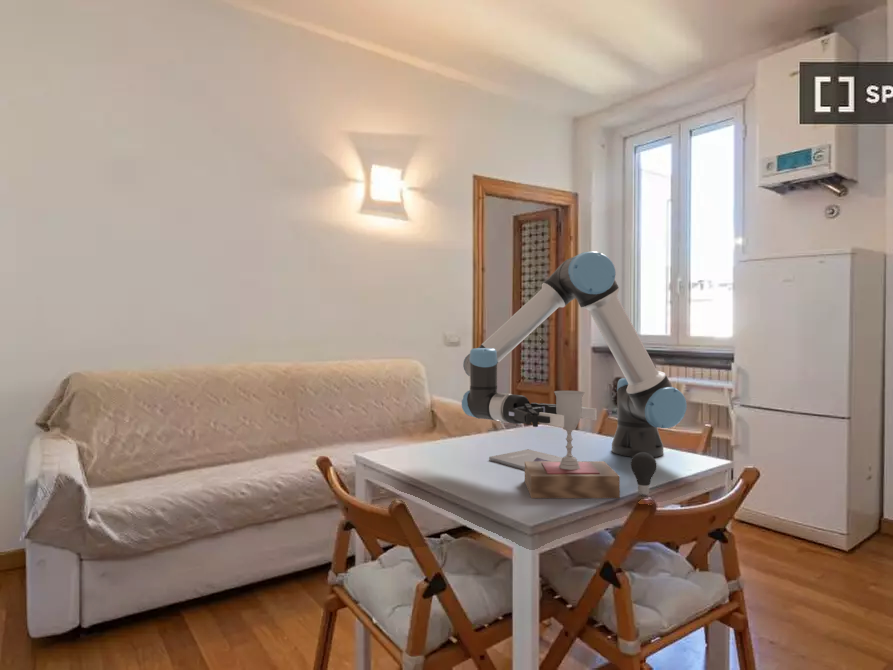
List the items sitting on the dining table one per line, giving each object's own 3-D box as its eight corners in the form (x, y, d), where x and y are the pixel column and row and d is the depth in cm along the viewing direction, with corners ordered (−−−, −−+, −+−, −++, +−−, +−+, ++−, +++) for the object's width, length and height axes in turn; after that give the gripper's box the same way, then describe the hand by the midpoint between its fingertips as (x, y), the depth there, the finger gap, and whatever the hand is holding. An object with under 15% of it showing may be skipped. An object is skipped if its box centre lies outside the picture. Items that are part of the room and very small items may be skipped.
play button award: (528, 449, 174) (579, 461, 158) (528, 454, 174) (579, 467, 158) (489, 456, 164) (539, 470, 148) (489, 462, 164) (539, 476, 148)
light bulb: (638, 500, 126) (638, 455, 125) (626, 492, 131) (626, 450, 131) (661, 498, 126) (661, 454, 126) (648, 491, 132) (648, 449, 132)
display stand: (604, 481, 141) (604, 460, 141) (619, 498, 127) (619, 475, 127) (524, 481, 142) (524, 460, 142) (531, 498, 128) (531, 474, 128)
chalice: (590, 466, 134) (589, 392, 134) (576, 472, 129) (575, 394, 129) (563, 462, 139) (562, 389, 139) (548, 467, 134) (548, 392, 134)
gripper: (539, 417, 156) (608, 426, 140) (478, 429, 139) (548, 441, 123) (539, 390, 156) (608, 397, 140) (478, 398, 139) (548, 407, 123)
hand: (580, 417), depth 132 cm, fingers open, 13 cm apart
